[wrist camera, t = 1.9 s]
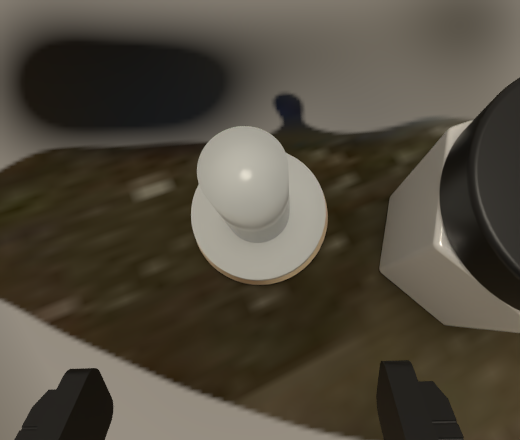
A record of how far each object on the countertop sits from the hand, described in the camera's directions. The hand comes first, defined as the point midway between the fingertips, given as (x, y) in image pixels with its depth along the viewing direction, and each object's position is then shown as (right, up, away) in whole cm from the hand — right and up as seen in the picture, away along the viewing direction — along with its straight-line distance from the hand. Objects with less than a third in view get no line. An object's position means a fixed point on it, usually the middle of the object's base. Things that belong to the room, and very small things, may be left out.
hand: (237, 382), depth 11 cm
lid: (+1, +5, +12) cm, 13 cm away
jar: (+12, +3, +12) cm, 17 cm away
